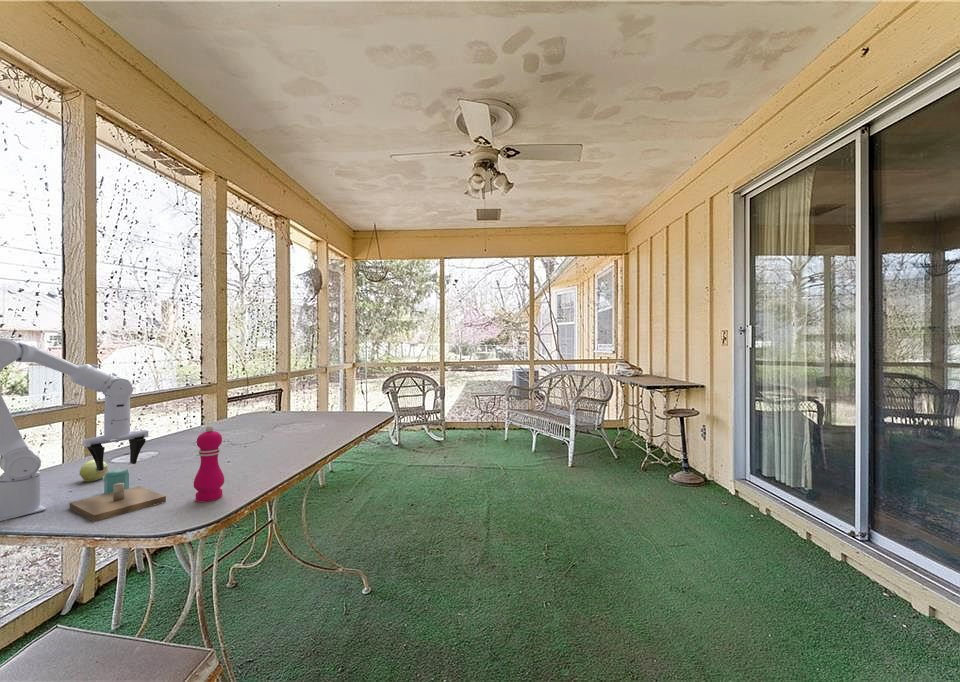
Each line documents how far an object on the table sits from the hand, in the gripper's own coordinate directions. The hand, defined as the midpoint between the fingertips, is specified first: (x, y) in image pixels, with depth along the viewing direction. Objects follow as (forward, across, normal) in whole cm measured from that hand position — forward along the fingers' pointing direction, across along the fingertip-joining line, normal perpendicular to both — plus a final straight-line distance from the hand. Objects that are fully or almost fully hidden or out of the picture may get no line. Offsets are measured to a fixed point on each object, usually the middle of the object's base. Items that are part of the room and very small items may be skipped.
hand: (117, 466), depth 122 cm
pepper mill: (+8, +11, -28) cm, 31 cm away
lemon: (+7, +1, +20) cm, 21 cm away
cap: (+7, 0, 0) cm, 7 cm away
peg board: (+7, -4, -13) cm, 15 cm away
